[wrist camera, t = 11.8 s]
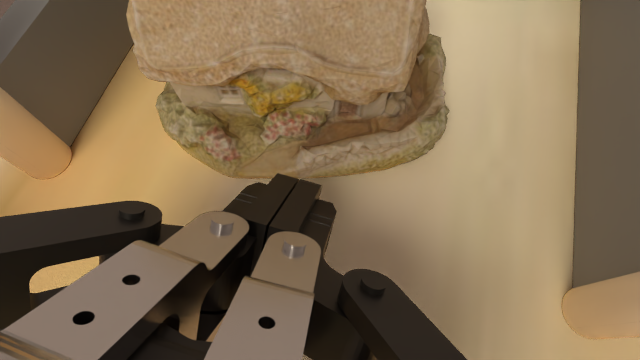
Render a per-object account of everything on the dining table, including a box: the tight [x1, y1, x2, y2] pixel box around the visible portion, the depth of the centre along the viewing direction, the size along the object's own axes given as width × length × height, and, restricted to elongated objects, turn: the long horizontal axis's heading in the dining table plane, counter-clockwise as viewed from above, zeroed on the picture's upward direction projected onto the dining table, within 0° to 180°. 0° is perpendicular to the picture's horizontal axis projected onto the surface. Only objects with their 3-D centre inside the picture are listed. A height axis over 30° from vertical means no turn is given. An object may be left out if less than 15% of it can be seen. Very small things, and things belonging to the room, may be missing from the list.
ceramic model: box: [126, 0, 449, 179], centre depth 16 cm, size 14×11×10 cm
